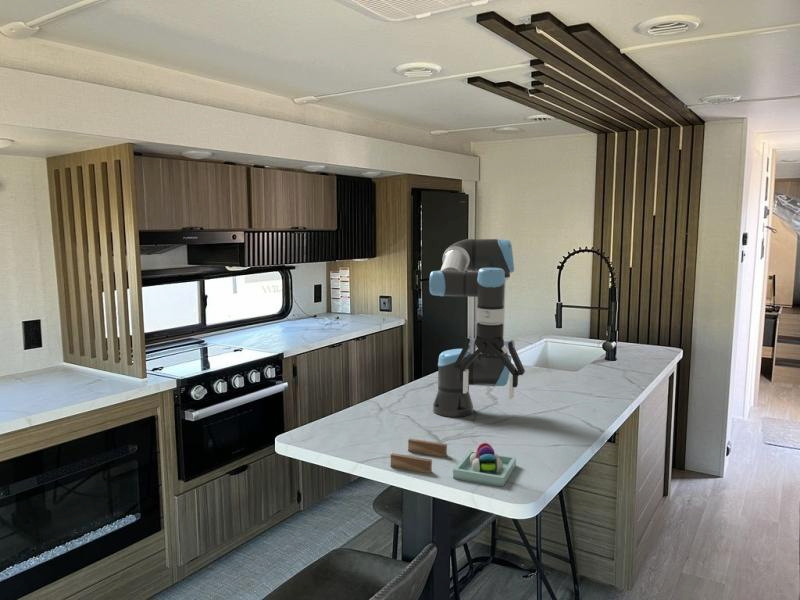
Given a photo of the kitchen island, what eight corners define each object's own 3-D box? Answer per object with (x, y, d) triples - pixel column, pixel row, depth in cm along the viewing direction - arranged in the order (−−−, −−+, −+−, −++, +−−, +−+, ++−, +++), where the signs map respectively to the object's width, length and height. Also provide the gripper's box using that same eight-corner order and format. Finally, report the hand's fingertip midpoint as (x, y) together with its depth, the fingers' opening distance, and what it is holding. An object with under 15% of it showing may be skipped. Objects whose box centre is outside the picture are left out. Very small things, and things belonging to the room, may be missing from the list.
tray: (469, 458, 181) (469, 450, 181) (516, 465, 176) (516, 457, 175) (453, 478, 166) (453, 469, 166) (503, 486, 161) (503, 477, 161)
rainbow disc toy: (497, 462, 176) (498, 438, 175) (504, 476, 166) (504, 451, 166) (468, 462, 176) (469, 438, 175) (473, 476, 166) (473, 451, 165)
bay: (410, 449, 188) (410, 438, 188) (446, 455, 183) (446, 444, 183) (390, 466, 174) (390, 454, 174) (429, 473, 170) (429, 461, 169)
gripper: (444, 321, 173) (442, 393, 176) (531, 328, 163) (528, 404, 166) (452, 317, 180) (451, 386, 183) (536, 323, 170) (534, 396, 173)
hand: (488, 395), depth 174 cm, fingers open, 13 cm apart
